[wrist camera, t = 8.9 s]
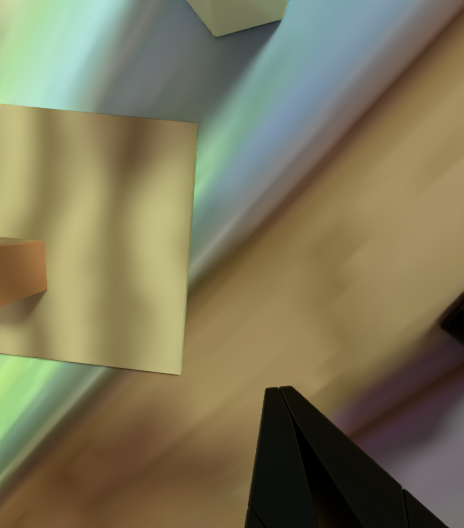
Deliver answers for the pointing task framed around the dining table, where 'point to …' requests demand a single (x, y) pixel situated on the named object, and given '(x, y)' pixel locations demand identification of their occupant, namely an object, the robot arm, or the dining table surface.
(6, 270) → the block
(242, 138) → the dining table surface
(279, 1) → the jar
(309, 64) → the dining table surface
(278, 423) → the robot arm
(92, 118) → the board
